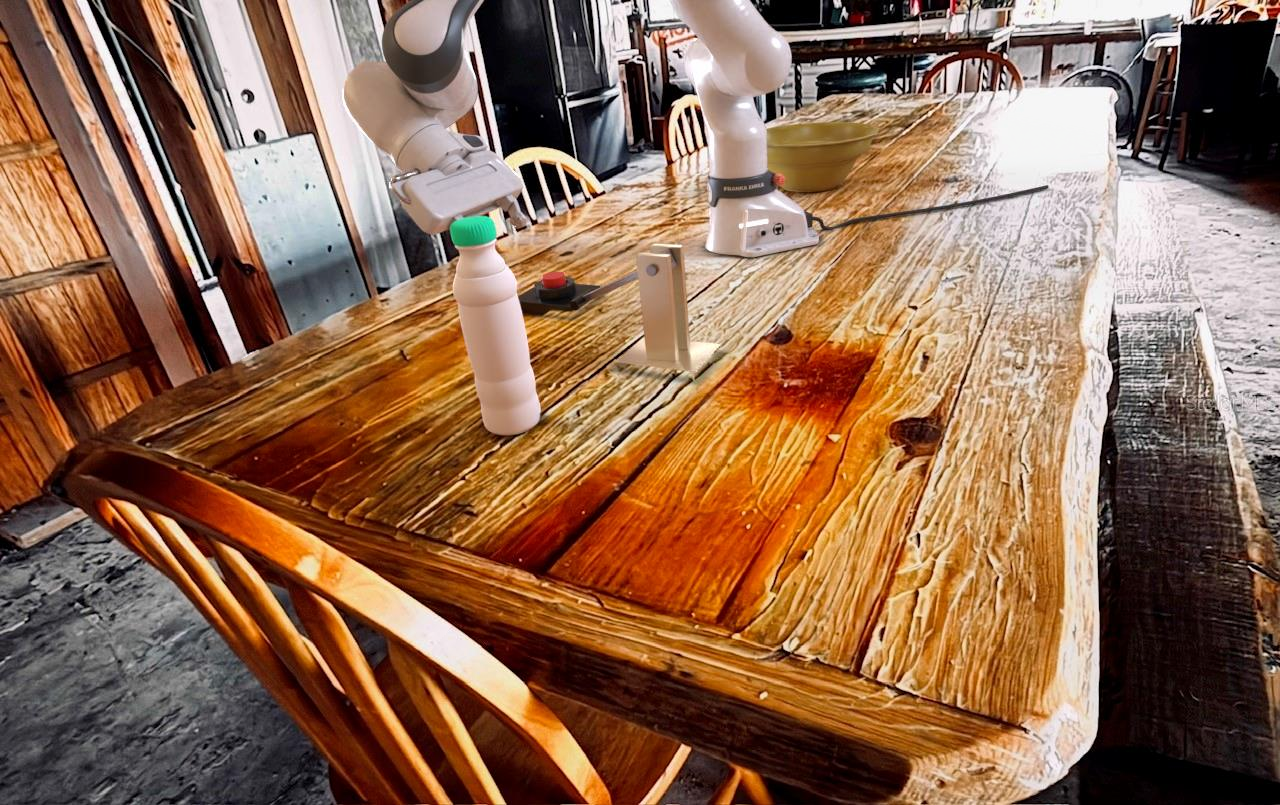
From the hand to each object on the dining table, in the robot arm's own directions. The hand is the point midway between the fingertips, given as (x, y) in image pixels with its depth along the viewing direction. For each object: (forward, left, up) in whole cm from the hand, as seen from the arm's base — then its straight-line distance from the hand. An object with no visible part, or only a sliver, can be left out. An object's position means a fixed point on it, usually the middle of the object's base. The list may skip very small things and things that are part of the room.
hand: (504, 234), depth 100 cm
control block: (-6, -15, -17) cm, 23 cm away
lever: (-16, +11, -7) cm, 20 cm away
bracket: (-20, +14, -17) cm, 30 cm away
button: (-6, -15, -13) cm, 21 cm away
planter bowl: (-74, -77, -17) cm, 108 cm away
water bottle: (+1, +25, -17) cm, 30 cm away
